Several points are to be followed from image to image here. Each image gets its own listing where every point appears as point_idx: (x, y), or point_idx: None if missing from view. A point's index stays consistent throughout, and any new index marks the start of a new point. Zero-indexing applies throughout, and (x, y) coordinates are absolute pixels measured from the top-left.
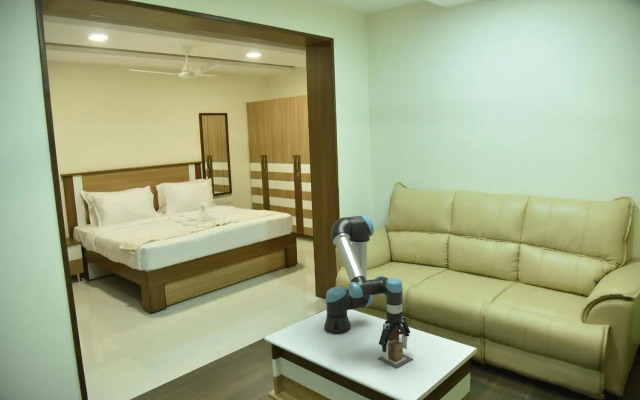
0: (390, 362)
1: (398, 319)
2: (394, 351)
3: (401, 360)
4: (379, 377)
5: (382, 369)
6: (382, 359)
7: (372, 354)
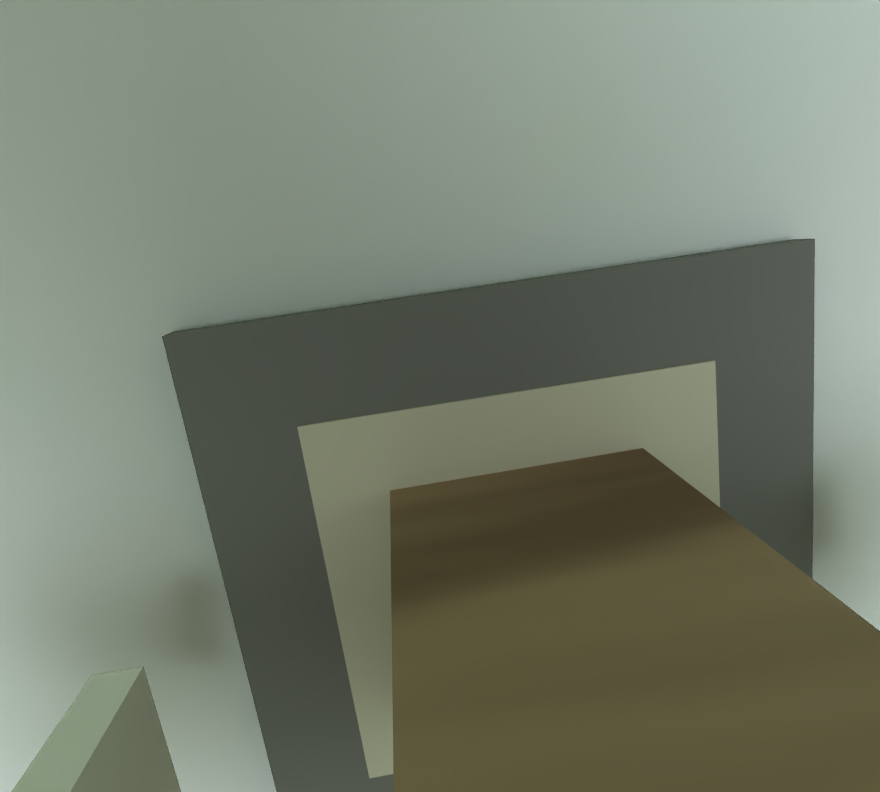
0: (315, 662)
1: None
2: None
3: None
4: None
5: (16, 736)
6: (233, 459)
7: (201, 4)
